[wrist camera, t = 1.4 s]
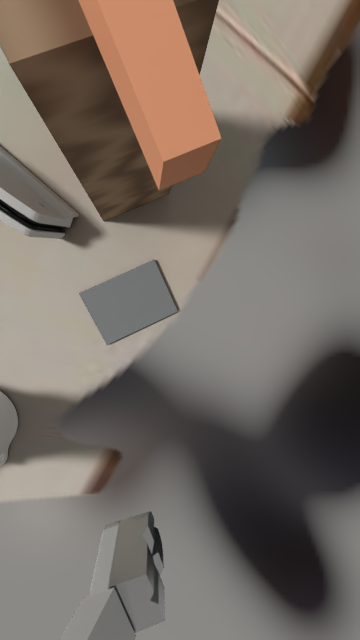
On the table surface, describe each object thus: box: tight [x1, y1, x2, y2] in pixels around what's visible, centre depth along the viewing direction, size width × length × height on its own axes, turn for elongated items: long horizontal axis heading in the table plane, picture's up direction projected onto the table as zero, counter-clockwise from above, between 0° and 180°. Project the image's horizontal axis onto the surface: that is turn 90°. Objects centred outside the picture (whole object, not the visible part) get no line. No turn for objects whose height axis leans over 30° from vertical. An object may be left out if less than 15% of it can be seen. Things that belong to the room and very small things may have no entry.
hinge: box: [0, 146, 79, 239], centre depth 30 cm, size 17×5×10 cm, turn 49°
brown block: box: [0, 0, 219, 221], centre depth 23 cm, size 12×14×26 cm
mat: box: [79, 260, 178, 345], centre depth 39 cm, size 14×10×1 cm
